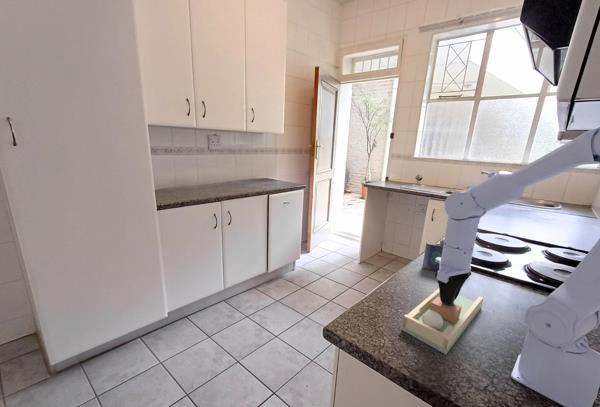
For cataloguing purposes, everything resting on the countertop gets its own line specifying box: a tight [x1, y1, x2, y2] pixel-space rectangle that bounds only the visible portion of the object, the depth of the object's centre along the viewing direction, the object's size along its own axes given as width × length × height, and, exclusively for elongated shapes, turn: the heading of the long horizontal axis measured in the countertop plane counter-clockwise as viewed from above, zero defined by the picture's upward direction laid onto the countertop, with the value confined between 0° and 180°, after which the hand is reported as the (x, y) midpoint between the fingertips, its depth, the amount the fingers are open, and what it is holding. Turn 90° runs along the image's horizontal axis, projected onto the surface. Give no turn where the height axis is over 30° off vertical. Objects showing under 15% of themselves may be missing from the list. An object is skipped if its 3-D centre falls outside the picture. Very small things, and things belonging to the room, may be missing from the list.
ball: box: [422, 311, 443, 330], centre depth 56 cm, size 4×4×4 cm
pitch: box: [401, 287, 484, 355], centre depth 62 cm, size 9×24×4 cm, turn 132°
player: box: [430, 297, 462, 323], centre depth 61 cm, size 5×4×7 cm
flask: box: [421, 238, 445, 272], centre depth 86 cm, size 9×3×11 cm, turn 61°
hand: (448, 300), depth 61 cm, fingers closed on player, 2 cm apart
